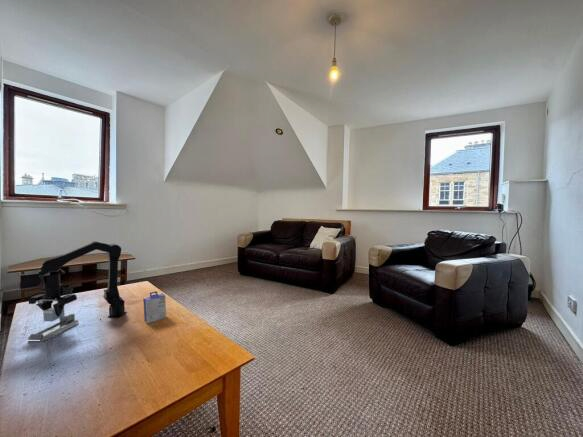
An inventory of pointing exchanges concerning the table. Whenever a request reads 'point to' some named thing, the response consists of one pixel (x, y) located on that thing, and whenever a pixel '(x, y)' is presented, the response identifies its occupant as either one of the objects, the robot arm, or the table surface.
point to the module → (51, 314)
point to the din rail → (55, 328)
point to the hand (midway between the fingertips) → (54, 316)
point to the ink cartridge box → (154, 307)
